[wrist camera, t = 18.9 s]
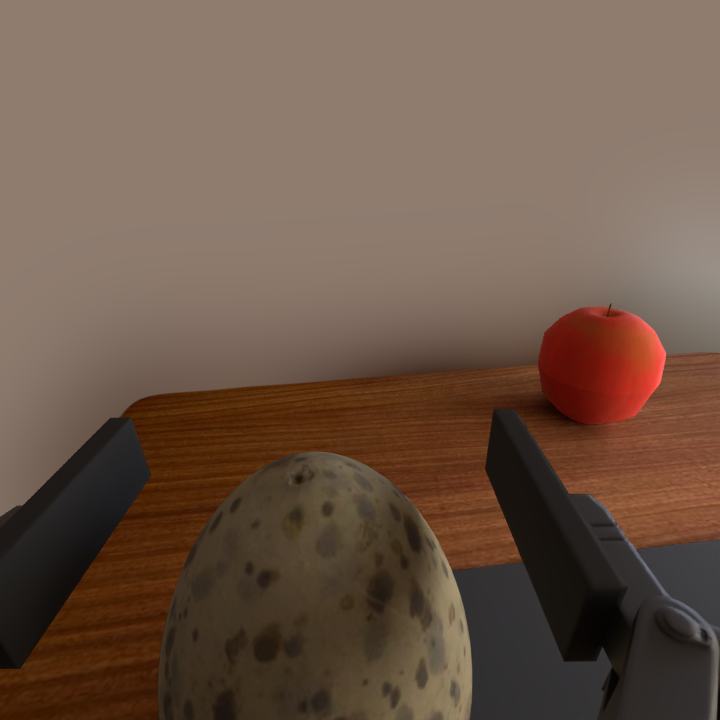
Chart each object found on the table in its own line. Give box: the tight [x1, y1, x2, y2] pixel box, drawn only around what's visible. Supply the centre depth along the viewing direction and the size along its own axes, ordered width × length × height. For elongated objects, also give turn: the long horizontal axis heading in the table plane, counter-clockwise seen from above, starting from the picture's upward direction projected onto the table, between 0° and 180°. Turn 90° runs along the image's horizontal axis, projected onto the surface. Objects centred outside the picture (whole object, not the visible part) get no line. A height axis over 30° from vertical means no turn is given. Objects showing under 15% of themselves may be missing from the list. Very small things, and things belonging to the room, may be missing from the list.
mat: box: [452, 540, 720, 720], centre depth 19 cm, size 48×14×1 cm, turn 96°
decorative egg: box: [158, 452, 472, 720], centre depth 14 cm, size 11×11×15 cm
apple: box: [538, 304, 666, 425], centre depth 38 cm, size 10×10×12 cm
